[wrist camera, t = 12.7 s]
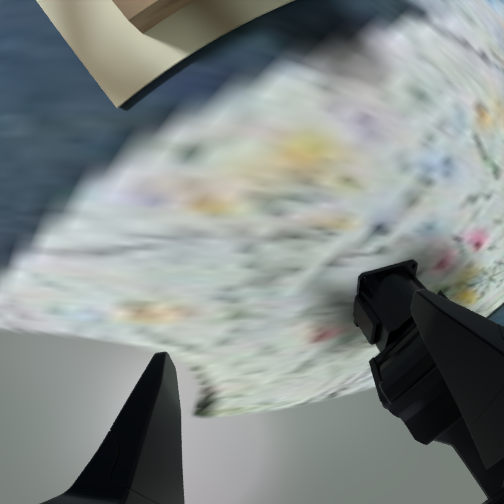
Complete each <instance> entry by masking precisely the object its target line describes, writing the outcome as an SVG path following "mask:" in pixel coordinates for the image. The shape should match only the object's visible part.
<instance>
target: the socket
mask: <svg viewBox="0 0 504 504" xmlns="http://www.w3.org/2000/svg"><path fill="white" fill-rule="evenodd" d="M36 1H37V2H38V3H39V5H40V6H41V8H42V9H43V10H44V12H45V13H46V14H47V16H48V17H49V19H50V20H51V21H52V23H53V24H54V25H55V27H56V28H57V29H58V31H59V32H60V33H61V35H62V36H63V38H64V39H65V40H66V42H67V43H68V44H69V46H70V47H71V48H72V50H73V51H74V52H75V54H76V55H77V56H78V58H79V59H80V60H81V62H82V63H83V64H84V66H85V67H86V68H87V70H88V71H89V72H90V74H91V75H92V76H93V78H94V79H95V80H96V81H97V83H98V84H99V85H100V87H101V88H102V89H103V91H104V92H105V93H106V95H107V96H108V97H109V99H110V100H111V101H112V102H113V104H114V105H115V106H116V108H119V107H120V106H122V105H123V104H124V103H125V102H126V101H128V100H129V99H130V98H131V97H133V96H134V95H135V94H136V93H138V92H139V91H140V90H141V89H143V88H144V87H145V86H147V85H148V84H149V83H151V82H152V81H153V80H155V79H156V78H157V77H159V76H160V75H162V74H163V73H164V72H166V71H167V70H169V69H170V68H172V67H173V66H175V65H176V64H177V63H179V62H180V61H182V60H184V59H185V58H187V57H188V56H190V55H191V54H193V53H194V52H196V51H198V50H199V49H201V48H202V47H204V46H206V45H207V44H209V43H211V42H212V41H214V40H216V39H218V38H219V37H221V36H223V35H225V34H226V33H228V32H230V31H232V30H234V29H236V28H237V27H239V26H241V25H243V24H245V23H247V22H249V21H251V20H253V19H255V18H257V17H259V16H261V15H263V14H266V13H268V12H270V11H272V10H274V9H276V8H279V7H281V6H283V5H286V4H288V3H290V2H293V1H295V0H36Z"/></svg>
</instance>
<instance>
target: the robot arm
mask: <svg viewBox="0 0 504 504" xmlns="http://www.w3.org/2000/svg"><path fill="white" fill-rule="evenodd" d="M417 265H418V264H417V262H416V261H415V260H409V261H406V262H402V263H399V264H395V265H391V266H387V267H384V268H380V269H376V270H372V271H369V272H365V273H362V274H360V275H359V277H358V285H357V295H356V297H355V303H354V313H353V316H354V324H355V325H356V327H360V328H361V330H362V332H363V333H364V335H365V337H366V338H367V340H368V342H369V343H370V344H371V345H373V344H376V346H377V348H378V349H379V351H380V353H379V354H378V355H377V356H376V357H375V358H374V357H373V358H372V359H371V360H370V361H369V363H370V367H371V371H372V375H373V378H374V382H375V385H376V389H377V392H378V396H379V399H380V401H381V402H382V405H383V407H384V408H385V409H388V410H389V411H390V412H391V413H392V414H393V415H395V416H396V417H399V418H401V419H402V421H403V422H404V423H405V425H406V426H407V428H408V429H409V431H410V432H411V434H412V435H413V437H414V439H415V440H417V441H419V442H420V443H423V444H425V445H428V444H429V443H430V442H432V441H433V440H434V441H437V442H441V443H444V444H448V445H451V446H452V447H453V448H454V449H455V451H456V452H457V454H458V455H459V456H460V458H461V459H462V461H463V462H464V463H465V465H466V467H467V468H468V469H469V471H470V472H471V474H472V475H473V477H474V478H475V480H476V481H477V483H478V484H479V486H480V487H481V489H482V490H483V492H484V493H485V495H486V496H487V498H488V500H486V501H485V502H484V503H482V504H504V326H502V325H500V324H497V323H495V322H493V321H491V320H489V319H487V318H485V317H483V316H481V315H479V314H477V313H475V312H473V311H471V310H469V309H467V308H465V307H463V306H461V305H458V304H456V303H454V302H452V301H450V300H449V299H448V298H447V297H446V296H445V295H444V294H443V293H442V292H441V291H439V292H438V293H437V294H435V293H433V292H431V291H429V290H427V289H426V288H425V287H424V285H423V284H422V283H421V282H420V281H419V280H418V279H417V278H416V277H415V276H416V270H417ZM363 278H364V279H363ZM176 374H177V373H176V368H175V366H174V364H173V362H172V360H171V358H170V356H169V354H168V353H167V352H159V353H155V354H154V356H153V357H152V359H151V361H150V362H149V364H148V366H147V367H146V369H145V371H144V372H143V374H142V376H141V377H140V379H139V381H138V382H137V384H136V386H135V387H134V389H133V391H132V393H131V394H130V396H129V397H128V399H127V401H126V403H125V404H124V406H123V408H122V410H121V411H120V413H119V415H118V416H117V418H116V420H115V422H114V423H113V425H112V427H111V428H110V431H109V432H108V434H107V435H106V437H105V439H104V440H103V442H102V444H101V445H100V447H99V449H98V450H97V452H96V453H95V454H94V456H93V458H92V459H91V460H90V462H89V463H88V464H87V466H86V467H85V469H84V470H83V471H82V473H81V474H80V476H79V477H78V478H77V480H76V481H75V482H74V484H73V485H72V486H71V487H70V488H69V489H68V490H67V491H66V492H64V493H63V494H61V495H59V496H57V497H54V498H52V499H50V500H48V501H45V502H43V503H40V504H184V489H183V469H182V440H181V408H180V400H179V391H178V382H177V375H176Z"/></svg>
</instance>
